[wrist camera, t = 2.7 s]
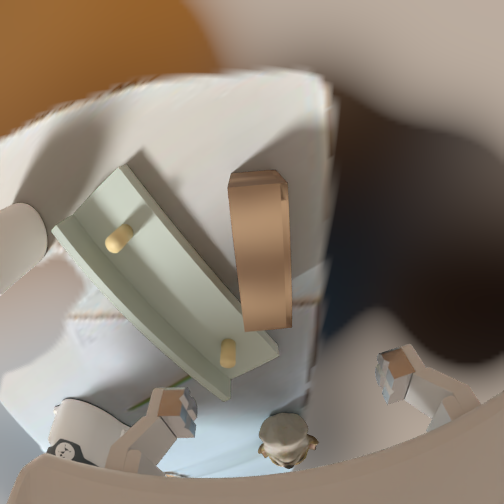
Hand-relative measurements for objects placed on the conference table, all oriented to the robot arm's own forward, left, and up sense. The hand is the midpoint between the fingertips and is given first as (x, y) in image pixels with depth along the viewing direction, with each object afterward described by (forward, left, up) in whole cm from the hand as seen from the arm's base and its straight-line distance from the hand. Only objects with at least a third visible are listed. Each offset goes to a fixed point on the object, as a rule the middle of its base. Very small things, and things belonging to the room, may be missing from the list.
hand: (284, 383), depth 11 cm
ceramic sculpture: (-34, -8, -19) cm, 39 cm away
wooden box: (0, 0, -18) cm, 18 cm away
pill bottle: (-2, +28, -18) cm, 33 cm away
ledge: (-7, +8, -18) cm, 21 cm away
